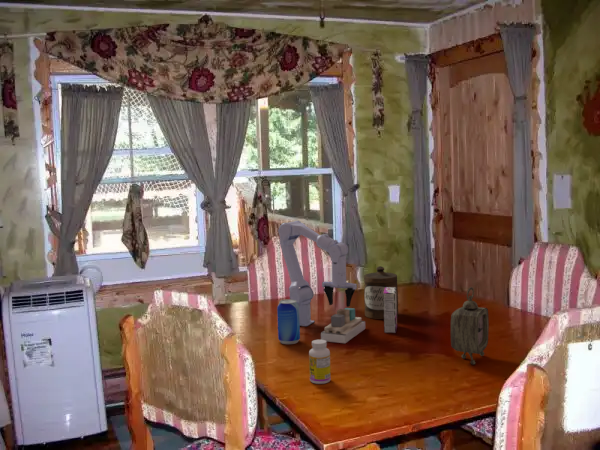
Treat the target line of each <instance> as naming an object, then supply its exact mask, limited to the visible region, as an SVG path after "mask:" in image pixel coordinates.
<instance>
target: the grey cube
mask: <svg viewBox="0 0 600 450" xmlns="http://www.w3.org/2000/svg"><path fill="white" fill-rule="evenodd" d="M330 324H331V327H342V326H344V325H345V315H340V314H337V313H334V314H333V315H331V316H330Z"/></svg>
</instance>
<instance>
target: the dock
mask: <svg viewBox="0 0 600 450" xmlns="http://www.w3.org/2000/svg"><path fill="white" fill-rule="evenodd" d="M365 329H366V321H365V320H361V323H360V324H358V325H357V326H355V327H354V328H353V329H351V330H350V331H348V332H347V333H345V334H340V331H339V332H338V333H332V331H331V332H329V333H327V332H325V330H323V331H321V332H320V340H326V342H327V343H328V342H330V343H338V344H339V343H340V344H346V343H348V342H349V341H350V340H352V339H354V337H356V336H357V335H359V334H360V333H362V332H363V331H364V330H365Z"/></svg>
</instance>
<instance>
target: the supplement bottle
mask: <svg viewBox="0 0 600 450" xmlns="http://www.w3.org/2000/svg"><path fill="white" fill-rule="evenodd" d="M327 345H328V341H326V340H321V339H314V340H312V341H311V346H312V348H311V349H309V351H308V360H309V362H308V363H309V364H308V365H309V368H308V369H309V381H310V382H311V383H312V384H316V385H324V384H328V383H330V381H331V380H332V379H331V378H332V377H331V373H332V372H331V352H330V349H329V348H327Z"/></svg>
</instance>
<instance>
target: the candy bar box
mask: <svg viewBox="0 0 600 450" xmlns="http://www.w3.org/2000/svg"><path fill="white" fill-rule="evenodd" d="M383 306H384V319H383V332H384V333H385V334H396V332H397V328H398V316H397V301H396V288H395V287H386V288H385V289H384V292H383Z"/></svg>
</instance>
